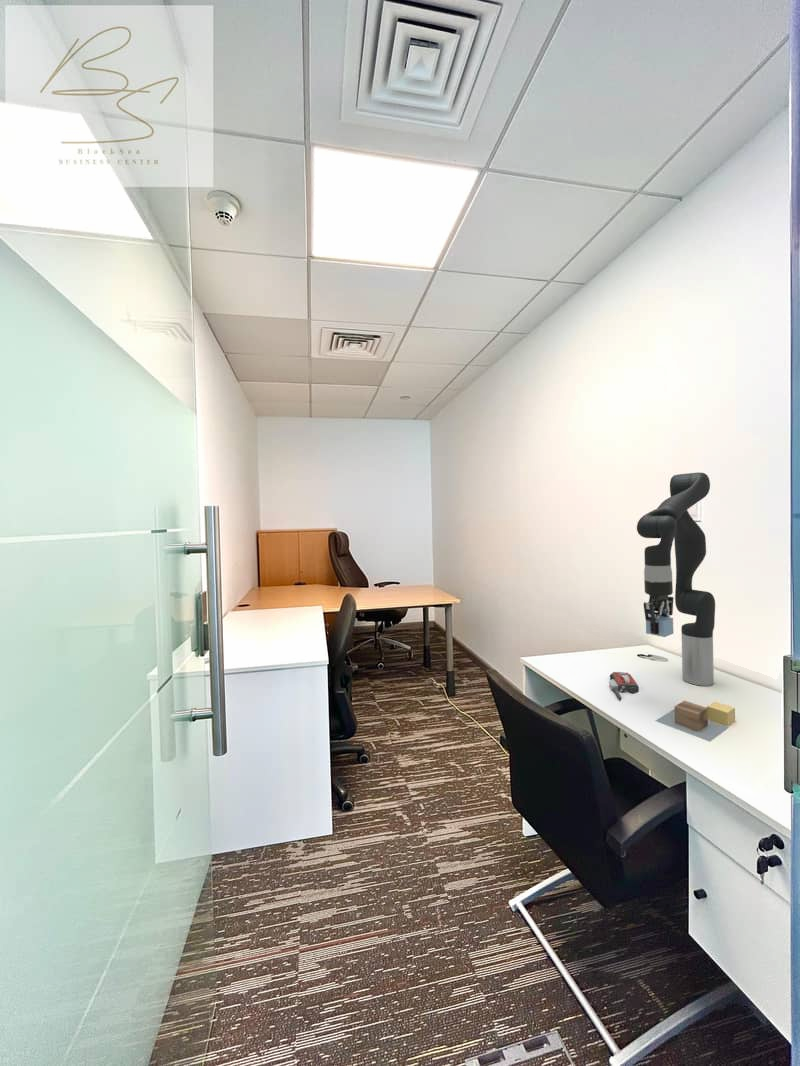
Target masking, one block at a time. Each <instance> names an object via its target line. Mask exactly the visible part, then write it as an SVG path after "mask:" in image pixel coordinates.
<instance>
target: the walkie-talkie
mask: <svg viewBox="0 0 800 1066" xmlns="http://www.w3.org/2000/svg"><path fill="white" fill-rule="evenodd" d="M609 678H610V679H611V680H609V682H608V683H609V684H608V685H609V687H610V690H611V691H612V692H614V693H615V695H616V696H617V698H618V699H619V700H622V698H623V697H622V696H621V694H620V693H632V694H635V693H636V694H637V693H639V690H640V689H639V685H638V683H637V682H636V680H635V679H634V677H633V676H632V675H631V674H630V673H629V672H624V671H623V672H621V671H620V672H619V671H613V672H612V673H610V674H609Z"/></svg>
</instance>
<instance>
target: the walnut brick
mask: <svg viewBox="0 0 800 1066" xmlns="http://www.w3.org/2000/svg"><path fill="white" fill-rule="evenodd" d="M673 710H674V711H675V723H676V724H679V725H682V726H684V727H687V728H690V729H692V730H695V731H700V730H701V729H703V728H704V727H706V726H707V725H708V708H707V707H706V706H703V705H700V704H696V703H694V702H690V701H687V700H683V701H681V702H680V703H678V704H676V705H674V708H673Z"/></svg>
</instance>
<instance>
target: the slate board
mask: <svg viewBox="0 0 800 1066" xmlns="http://www.w3.org/2000/svg"><path fill="white" fill-rule="evenodd" d="M655 722H657V723H660V724H662V725H665V726H668V727H669V728H670V727H671V728H673V729H675V730H679V731H681V732H684V733H686V734H689V735H692V736H694V737H697V738H699V739H702V740H704V741H707V742H712V741H713V740H714V739H716V738H717V737H719V735H721V734H722V733H724V732H725V731H726V730H727V729H729V728H730V726H726V725H723V724H720V723H717V722H714V721H711V720H708V725H707V726H706V727H704V728H703V729H701V730H700V731H695V730H692V729H690V728H687V727H684V726H682V725H679V724H676V723H675V711H674V709H672V710H671V711H668V712H667V713H666V714H663V715H662V716H661V717H659V718H656V719H655Z"/></svg>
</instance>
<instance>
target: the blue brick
mask: <svg viewBox="0 0 800 1066" xmlns="http://www.w3.org/2000/svg"><path fill="white" fill-rule="evenodd" d="M655 618H656V615H655ZM658 623H659V634H652V633H651V630H650V621H647V620H646V619H645V634H648V635H652V636H657V637H662V638H666V637H668V636H671V635H674V617H671V616H670V617H664V616H659V622H658Z"/></svg>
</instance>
